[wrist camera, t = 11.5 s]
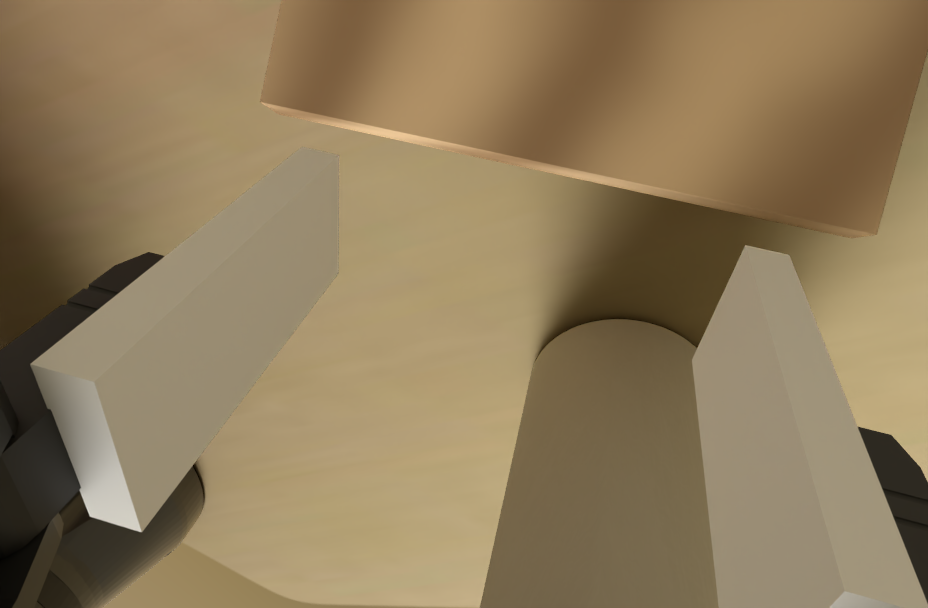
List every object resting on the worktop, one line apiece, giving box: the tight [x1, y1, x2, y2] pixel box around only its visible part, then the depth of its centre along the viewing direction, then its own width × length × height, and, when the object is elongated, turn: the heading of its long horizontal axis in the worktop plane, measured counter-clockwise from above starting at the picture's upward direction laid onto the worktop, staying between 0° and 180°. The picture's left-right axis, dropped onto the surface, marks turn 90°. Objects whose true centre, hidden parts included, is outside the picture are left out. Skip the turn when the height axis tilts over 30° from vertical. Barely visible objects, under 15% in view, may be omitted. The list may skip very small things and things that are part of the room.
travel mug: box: [480, 319, 719, 608], centre depth 20 cm, size 8×8×18 cm
